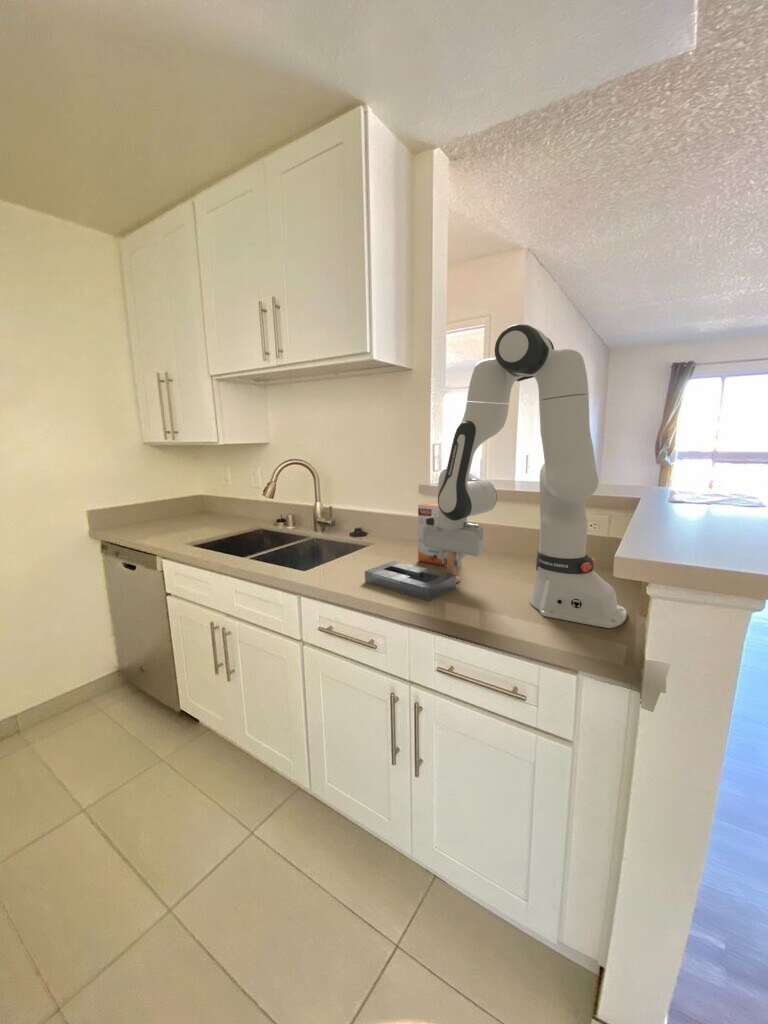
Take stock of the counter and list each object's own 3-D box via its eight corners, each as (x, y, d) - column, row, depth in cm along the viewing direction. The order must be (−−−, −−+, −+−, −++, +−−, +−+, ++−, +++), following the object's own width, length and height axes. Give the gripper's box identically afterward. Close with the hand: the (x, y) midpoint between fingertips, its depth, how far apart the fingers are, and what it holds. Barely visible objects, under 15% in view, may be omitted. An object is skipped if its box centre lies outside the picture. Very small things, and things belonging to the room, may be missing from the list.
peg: (462, 580, 129) (463, 546, 127) (454, 584, 125) (454, 549, 123) (449, 576, 132) (449, 543, 130) (440, 581, 129) (440, 546, 127)
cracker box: (417, 561, 149) (417, 504, 146) (425, 557, 154) (425, 501, 150) (452, 567, 141) (453, 507, 138) (460, 563, 146) (461, 504, 143)
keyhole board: (455, 587, 123) (455, 575, 123) (428, 601, 113) (428, 588, 112) (394, 571, 139) (394, 560, 138) (365, 582, 129) (364, 571, 128)
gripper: (488, 523, 121) (487, 568, 123) (431, 515, 134) (430, 556, 137) (477, 527, 116) (476, 574, 119) (419, 518, 130) (419, 561, 132)
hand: (451, 564), depth 128 cm, fingers closed on peg, 3 cm apart
